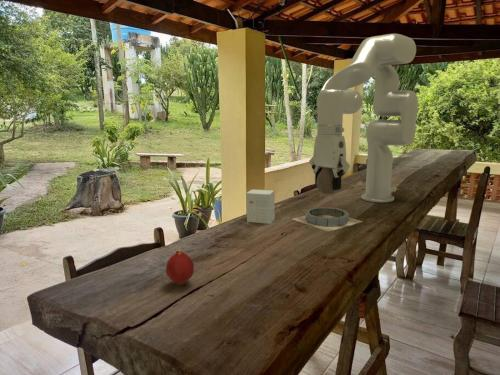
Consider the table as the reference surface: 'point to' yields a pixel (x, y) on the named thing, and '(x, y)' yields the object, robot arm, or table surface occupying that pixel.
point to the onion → (180, 268)
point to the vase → (325, 181)
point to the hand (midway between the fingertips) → (327, 187)
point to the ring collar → (327, 222)
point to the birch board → (350, 222)
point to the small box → (260, 206)
